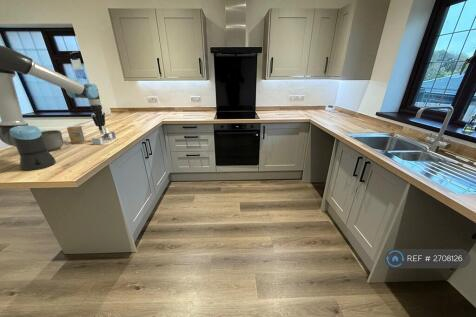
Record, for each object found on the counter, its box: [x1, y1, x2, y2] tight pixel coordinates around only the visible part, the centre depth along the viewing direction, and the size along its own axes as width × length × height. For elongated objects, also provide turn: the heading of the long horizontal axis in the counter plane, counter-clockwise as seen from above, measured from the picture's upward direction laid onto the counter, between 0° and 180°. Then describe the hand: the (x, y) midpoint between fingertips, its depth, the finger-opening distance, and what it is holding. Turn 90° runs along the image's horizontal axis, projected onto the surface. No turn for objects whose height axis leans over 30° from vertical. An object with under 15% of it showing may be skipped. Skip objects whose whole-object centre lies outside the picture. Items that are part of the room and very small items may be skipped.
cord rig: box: [91, 131, 117, 146], centre depth 163 cm, size 20×8×6 cm, turn 175°
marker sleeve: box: [103, 126, 113, 139], centre depth 165 cm, size 3×5×9 cm, turn 85°
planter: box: [41, 129, 64, 152], centre depth 141 cm, size 14×14×13 cm
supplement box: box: [66, 126, 86, 144], centre depth 157 cm, size 8×5×13 cm, turn 105°
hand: (102, 133), depth 161 cm, fingers closed
